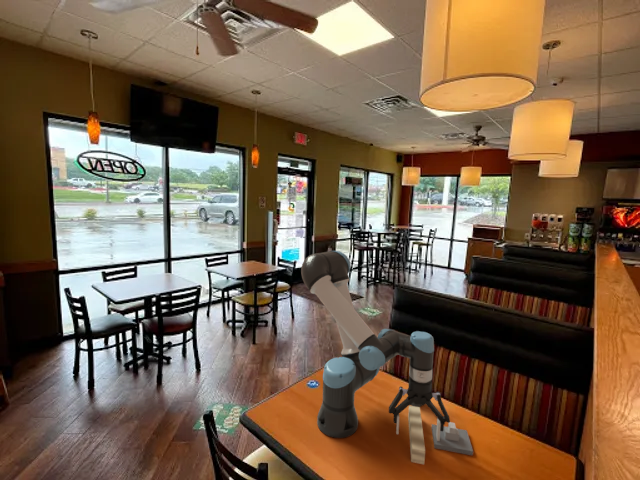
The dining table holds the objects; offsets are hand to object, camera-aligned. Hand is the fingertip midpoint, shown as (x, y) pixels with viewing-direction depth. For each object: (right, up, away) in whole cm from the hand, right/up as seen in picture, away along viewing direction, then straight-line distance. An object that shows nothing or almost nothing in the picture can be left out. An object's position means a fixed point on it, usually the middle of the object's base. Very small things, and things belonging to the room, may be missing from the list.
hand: (417, 435), depth 111 cm
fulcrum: (+12, -2, 0) cm, 12 cm away
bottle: (+5, +1, +21) cm, 21 cm away
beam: (-1, -2, +1) cm, 2 cm away
